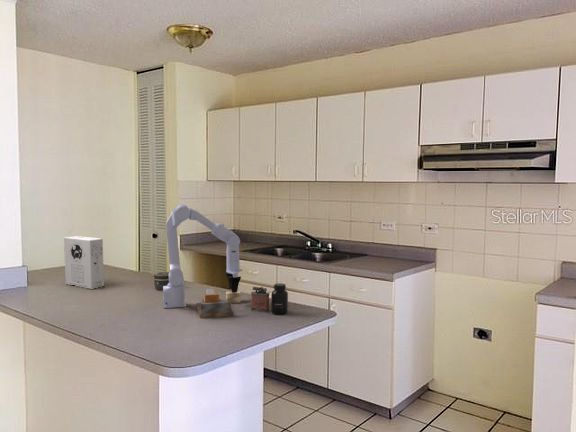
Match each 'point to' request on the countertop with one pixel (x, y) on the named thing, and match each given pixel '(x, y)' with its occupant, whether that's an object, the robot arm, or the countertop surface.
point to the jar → (161, 280)
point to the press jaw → (211, 296)
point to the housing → (233, 297)
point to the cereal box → (84, 261)
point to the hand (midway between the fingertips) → (233, 290)
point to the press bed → (214, 309)
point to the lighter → (260, 300)
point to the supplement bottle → (279, 300)
